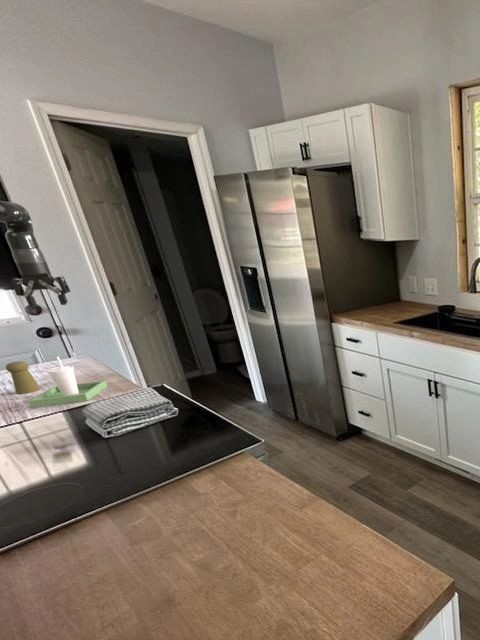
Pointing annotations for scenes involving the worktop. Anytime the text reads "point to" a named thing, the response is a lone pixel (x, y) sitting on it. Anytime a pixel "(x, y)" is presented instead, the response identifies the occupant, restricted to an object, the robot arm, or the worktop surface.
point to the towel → (128, 412)
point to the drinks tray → (56, 396)
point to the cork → (22, 378)
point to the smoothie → (64, 379)
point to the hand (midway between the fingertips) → (49, 305)
